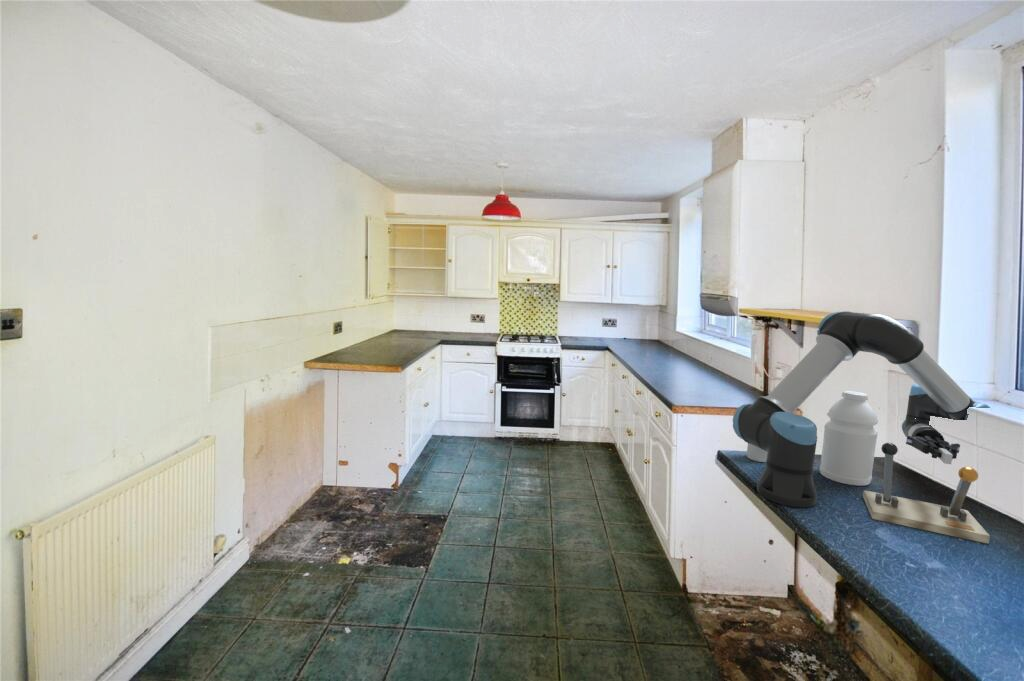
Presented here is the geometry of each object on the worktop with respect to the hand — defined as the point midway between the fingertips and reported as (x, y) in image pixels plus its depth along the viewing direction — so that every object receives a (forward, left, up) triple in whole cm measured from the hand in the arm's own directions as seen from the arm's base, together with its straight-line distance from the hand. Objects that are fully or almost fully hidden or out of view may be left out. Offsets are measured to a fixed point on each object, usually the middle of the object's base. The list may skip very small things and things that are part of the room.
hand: (948, 459), depth 134 cm
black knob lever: (-14, -11, -11) cm, 21 cm away
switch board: (-7, -11, -15) cm, 19 cm away
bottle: (-21, +12, -15) cm, 29 cm away
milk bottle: (-46, +15, -15) cm, 51 cm away
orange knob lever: (0, -11, -11) cm, 15 cm away
